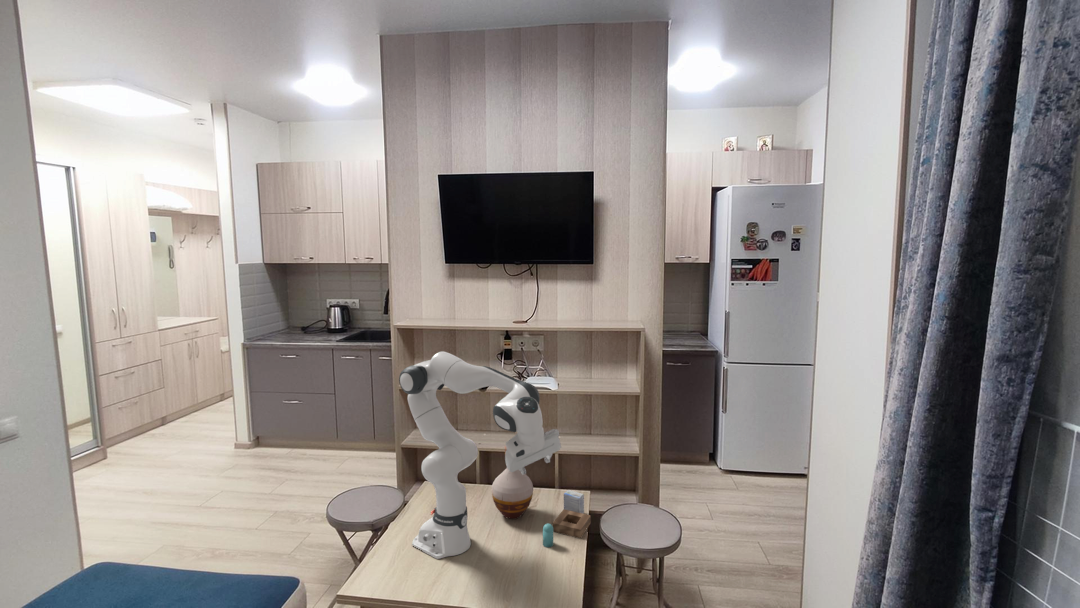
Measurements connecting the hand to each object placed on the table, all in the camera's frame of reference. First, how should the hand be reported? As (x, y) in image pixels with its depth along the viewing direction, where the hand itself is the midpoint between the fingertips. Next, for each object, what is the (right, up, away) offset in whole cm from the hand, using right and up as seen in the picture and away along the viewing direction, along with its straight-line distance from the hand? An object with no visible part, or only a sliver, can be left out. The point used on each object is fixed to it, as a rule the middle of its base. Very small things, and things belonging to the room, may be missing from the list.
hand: (535, 467), depth 166 cm
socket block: (+15, -33, +26) cm, 45 cm away
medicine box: (+16, -33, +37) cm, 52 cm away
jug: (-10, -33, +37) cm, 50 cm away
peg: (+5, -34, +14) cm, 37 cm away
